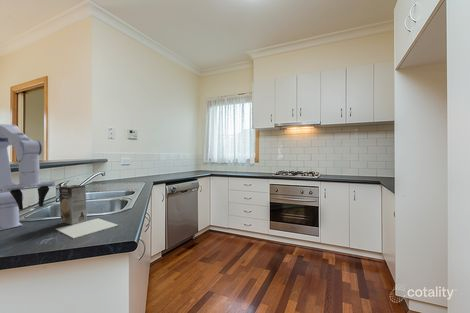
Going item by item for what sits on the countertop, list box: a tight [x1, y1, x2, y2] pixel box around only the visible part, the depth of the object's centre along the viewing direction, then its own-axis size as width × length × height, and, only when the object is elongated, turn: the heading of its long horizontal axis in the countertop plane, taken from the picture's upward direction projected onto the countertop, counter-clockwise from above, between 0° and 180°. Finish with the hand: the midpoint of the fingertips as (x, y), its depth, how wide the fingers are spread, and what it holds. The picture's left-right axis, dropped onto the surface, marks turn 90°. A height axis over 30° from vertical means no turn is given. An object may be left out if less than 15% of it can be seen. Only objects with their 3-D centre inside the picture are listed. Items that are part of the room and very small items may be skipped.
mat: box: [55, 218, 119, 239], centre depth 90 cm, size 18×16×1 cm
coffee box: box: [58, 184, 88, 225], centre depth 98 cm, size 9×6×16 cm
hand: (31, 207), depth 83 cm, fingers open, 5 cm apart
